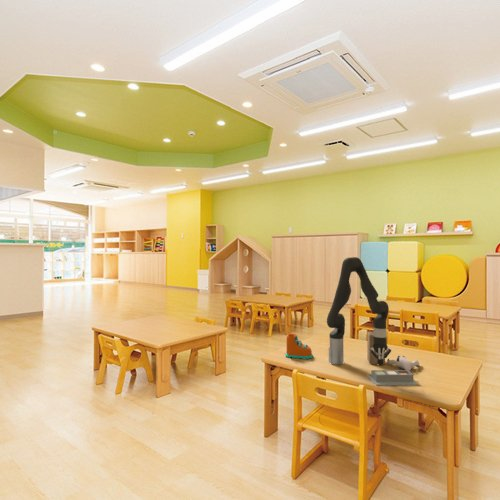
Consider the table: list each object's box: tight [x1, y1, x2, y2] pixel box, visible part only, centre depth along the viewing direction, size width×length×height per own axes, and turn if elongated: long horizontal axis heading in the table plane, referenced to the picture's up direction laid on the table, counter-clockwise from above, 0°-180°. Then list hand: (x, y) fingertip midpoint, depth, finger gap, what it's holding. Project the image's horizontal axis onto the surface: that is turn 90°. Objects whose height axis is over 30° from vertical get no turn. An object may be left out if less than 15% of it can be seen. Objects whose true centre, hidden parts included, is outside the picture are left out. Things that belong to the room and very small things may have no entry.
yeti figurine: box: [386, 355, 420, 373], centre depth 222 cm, size 20×7×20 cm
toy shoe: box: [285, 333, 314, 360], centre depth 245 cm, size 12×20×15 cm, turn 73°
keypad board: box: [366, 369, 419, 387], centre depth 199 cm, size 24×14×5 cm, turn 91°
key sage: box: [374, 371, 386, 375], centre depth 199 cm, size 5×5×2 cm
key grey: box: [386, 371, 397, 375], centre depth 199 cm, size 5×5×2 cm
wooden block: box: [366, 331, 386, 366], centre depth 231 cm, size 10×10×20 cm
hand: (380, 365), depth 199 cm, fingers closed
